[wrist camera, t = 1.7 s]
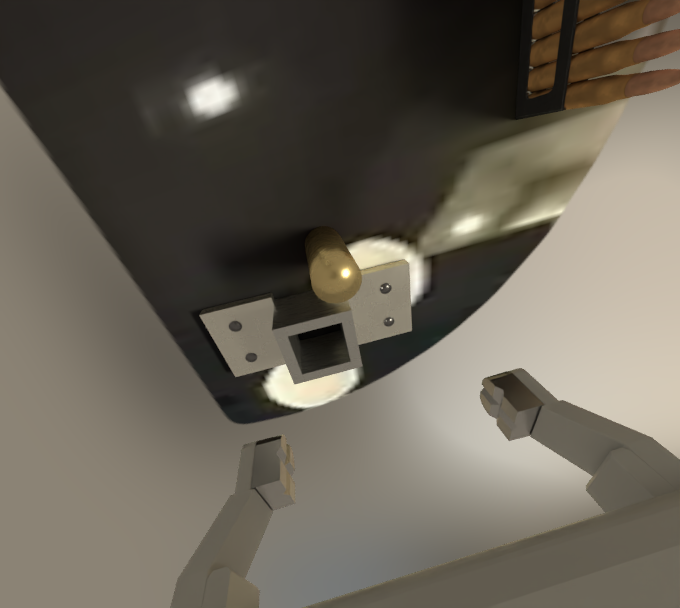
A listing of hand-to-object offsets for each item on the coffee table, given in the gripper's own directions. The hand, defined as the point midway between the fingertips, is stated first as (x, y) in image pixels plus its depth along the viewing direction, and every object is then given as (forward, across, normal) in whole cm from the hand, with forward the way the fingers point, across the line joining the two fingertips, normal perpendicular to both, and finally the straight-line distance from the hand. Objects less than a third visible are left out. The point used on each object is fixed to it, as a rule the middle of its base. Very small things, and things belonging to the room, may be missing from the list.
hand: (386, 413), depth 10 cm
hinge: (+21, +3, +9) cm, 23 cm away
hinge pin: (+21, 0, 0) cm, 21 cm away
